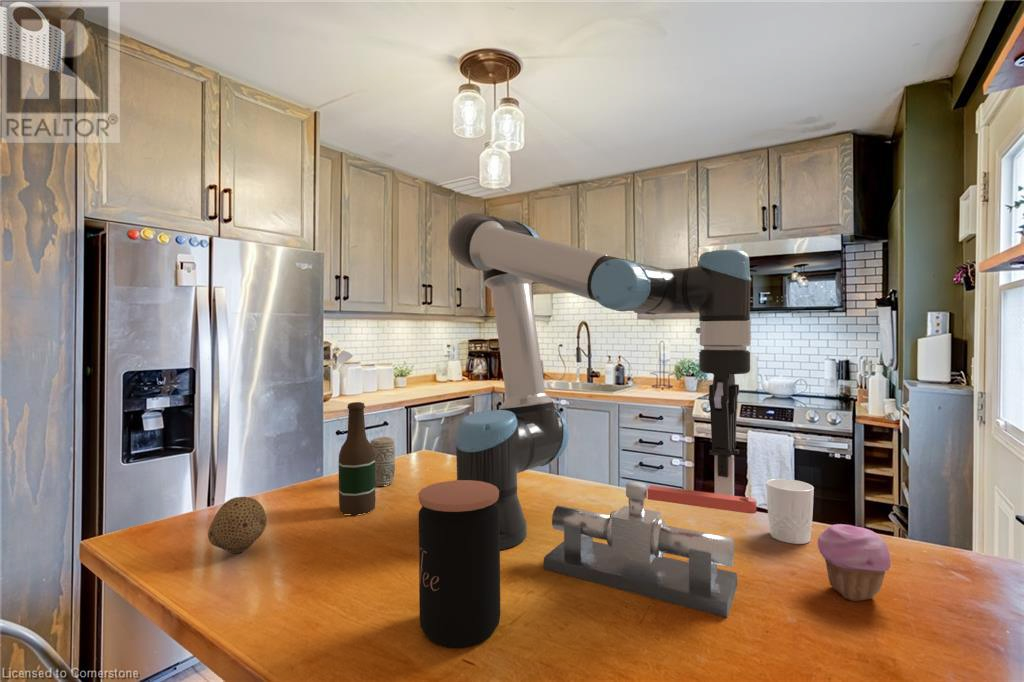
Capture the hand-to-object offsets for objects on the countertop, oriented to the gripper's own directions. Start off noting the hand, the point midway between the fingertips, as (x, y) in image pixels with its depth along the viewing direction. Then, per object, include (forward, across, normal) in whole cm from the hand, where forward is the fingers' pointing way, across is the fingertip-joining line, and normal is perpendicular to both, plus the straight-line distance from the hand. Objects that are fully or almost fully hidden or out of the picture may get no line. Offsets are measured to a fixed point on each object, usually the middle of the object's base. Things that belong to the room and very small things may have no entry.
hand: (724, 495), depth 80 cm
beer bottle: (+13, +10, -75) cm, 76 cm away
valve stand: (+13, +8, -12) cm, 19 cm away
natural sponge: (+13, +36, -75) cm, 85 cm away
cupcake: (+13, -3, +17) cm, 22 cm away
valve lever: (0, +8, -4) cm, 9 cm away
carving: (+13, -7, -85) cm, 86 cm away
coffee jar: (+13, +34, -27) cm, 45 cm away
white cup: (+13, -22, +8) cm, 26 cm away
